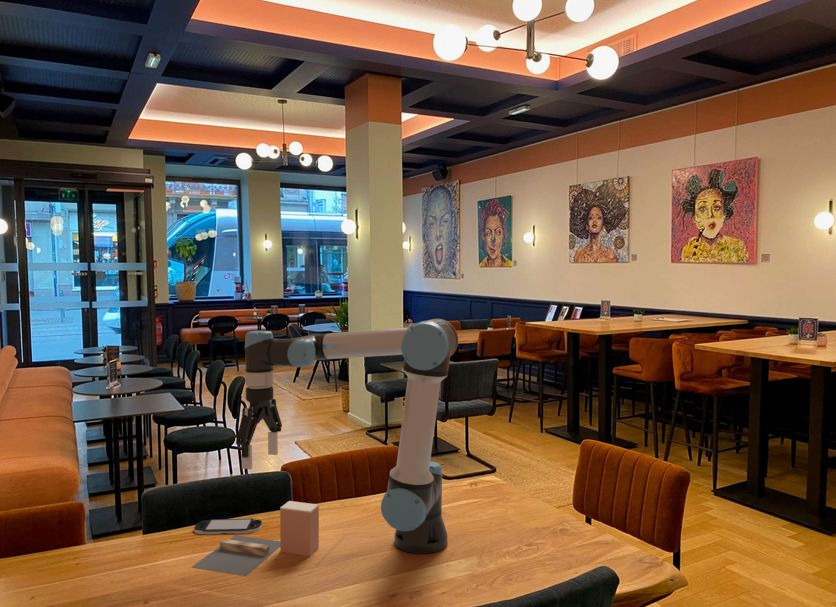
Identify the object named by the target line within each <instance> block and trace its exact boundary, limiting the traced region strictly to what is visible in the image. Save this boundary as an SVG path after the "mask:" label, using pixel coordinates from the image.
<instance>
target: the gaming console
mask: <svg viewBox="0 0 836 607" xmlns="http://www.w3.org/2000/svg"><path fill="white" fill-rule="evenodd" d="M262 527H263V521H262V520H261V519H254V518H217V519H216V518H215V519H214V518H213V519H209V520H208V519H207V520H201V521H199V522H197V523H196V524H195V525H194V527H193V532H194V533H195V534H197V535H222V534H224V535H232V534H233V535H238V534H240V535H241V534H252V533H256V532H258V531H260V530H261V529H262Z"/></svg>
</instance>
